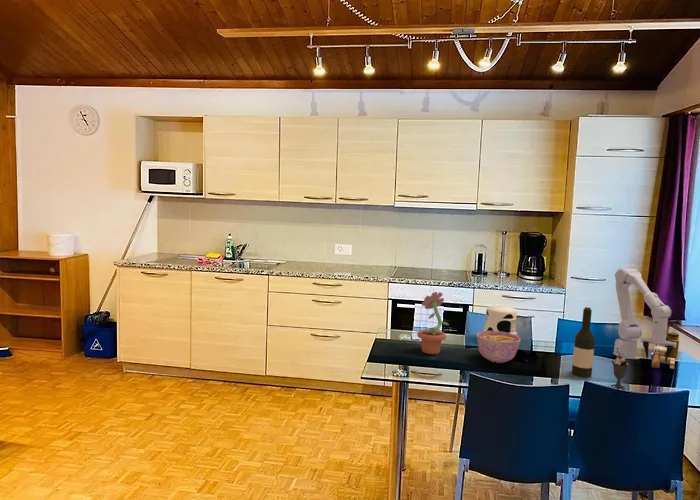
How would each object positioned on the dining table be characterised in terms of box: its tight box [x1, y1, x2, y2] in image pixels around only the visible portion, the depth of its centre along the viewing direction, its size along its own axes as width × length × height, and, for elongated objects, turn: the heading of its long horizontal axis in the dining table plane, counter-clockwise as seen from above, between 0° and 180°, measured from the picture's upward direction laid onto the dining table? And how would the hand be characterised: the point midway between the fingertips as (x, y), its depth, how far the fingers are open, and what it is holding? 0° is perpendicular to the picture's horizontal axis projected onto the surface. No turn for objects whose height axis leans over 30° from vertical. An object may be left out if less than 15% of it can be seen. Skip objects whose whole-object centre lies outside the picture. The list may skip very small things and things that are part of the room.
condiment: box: [663, 331, 681, 360], centre depth 269 cm, size 7×8×12 cm
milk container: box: [482, 305, 518, 336], centre depth 282 cm, size 17×17×18 cm
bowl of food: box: [476, 330, 521, 364], centre depth 250 cm, size 20×20×12 cm
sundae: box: [611, 350, 630, 390], centre depth 221 cm, size 7×7×15 cm
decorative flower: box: [416, 291, 450, 355], centre depth 257 cm, size 15×14×30 cm
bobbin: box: [654, 345, 667, 357], centre depth 264 cm, size 6×6×6 cm
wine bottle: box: [571, 306, 596, 379], centre depth 234 cm, size 8×8×30 cm
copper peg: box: [651, 351, 661, 369], centre depth 251 cm, size 3×3×7 cm
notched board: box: [660, 356, 676, 370], centre depth 256 cm, size 10×8×2 cm
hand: (656, 359), depth 251 cm, fingers open, 7 cm apart
